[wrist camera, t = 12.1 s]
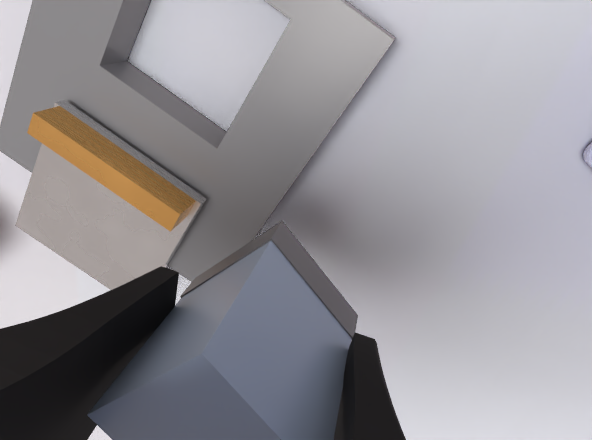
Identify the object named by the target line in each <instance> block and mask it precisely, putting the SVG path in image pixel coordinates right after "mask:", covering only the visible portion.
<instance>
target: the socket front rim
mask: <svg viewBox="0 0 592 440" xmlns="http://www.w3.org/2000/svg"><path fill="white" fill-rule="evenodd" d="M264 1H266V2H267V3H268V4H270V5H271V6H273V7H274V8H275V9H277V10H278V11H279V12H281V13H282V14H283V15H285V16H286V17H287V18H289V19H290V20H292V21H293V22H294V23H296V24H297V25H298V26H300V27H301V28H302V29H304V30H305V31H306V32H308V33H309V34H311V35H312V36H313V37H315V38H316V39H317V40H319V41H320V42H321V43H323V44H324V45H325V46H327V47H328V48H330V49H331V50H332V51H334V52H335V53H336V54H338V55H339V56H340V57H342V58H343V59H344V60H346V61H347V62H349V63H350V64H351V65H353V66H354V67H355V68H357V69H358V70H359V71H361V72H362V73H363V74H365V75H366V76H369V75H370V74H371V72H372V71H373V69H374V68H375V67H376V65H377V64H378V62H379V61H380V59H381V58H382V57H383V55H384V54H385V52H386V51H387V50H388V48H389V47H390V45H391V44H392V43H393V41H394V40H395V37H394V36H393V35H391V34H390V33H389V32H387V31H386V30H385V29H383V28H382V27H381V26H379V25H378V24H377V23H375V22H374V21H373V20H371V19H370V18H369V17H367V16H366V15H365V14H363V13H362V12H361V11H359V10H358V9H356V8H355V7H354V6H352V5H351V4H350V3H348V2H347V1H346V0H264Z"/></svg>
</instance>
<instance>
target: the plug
mask: <svg viewBox="0 0 592 440" xmlns="http://www.w3.org/2000/svg"><path fill="white" fill-rule="evenodd" d="M180 297H181V299H180V300H179V302H178V303H177V304H176V305H175V307H174V308H173V309H172V311H171V312H170V313H169V314H168V316H167V317H166V318H165V319H164V321H163V322H162V323H161V324H160V326H159V327H158V328H157V329H156V330H155V331H154V333H153V334H152V335H151V336H150V338H149V339H148V340H147V341H146V343H145V344H144V345H143V346H142V348H141V349H140V350H139V351H138V352H137V354H136V355H135V356H134V357H133V359H132V360H131V361H130V362H129V364H128V365H127V366H126V367H125V369H124V370H123V371H122V372H121V374H120V375H119V376H118V377H117V379H116V380H115V381H114V382H113V383H112V385H111V386H110V387H109V388H108V390H107V391H106V392H105V393H104V395H103V396H102V397H101V398H100V400H99V401H98V402H97V403H96V405H95V406H94V407H93V408H92V409H91V411H90V412H89V413H88V414H87V416H88V417H90V418H91V419H92V420H93V421H94V422H95V423H96V424H97V425H98V426H99V427H100V428H101V429H102V430H103V431H104V432H105V433H106V434H107V435H108V436H109V437H110V438H111V439H112V440H334V434H335V428H336V423H337V417H338V412H339V406H340V400H341V395H342V389H343V379H344V371H345V365H346V360H347V354H348V349H349V346H350V344H351V340H352V338H353V336H354V333H355V329H356V324H357V318H358V315H357V314H356V312H355V311H354V310H353V309H352V307H351V306H350V305H349V304H348V302H347V301H346V300H345V299H344V297H343V296H342V295H341V294H340V292H339V291H338V290H337V289H336V287H335V286H334V285H333V284H332V282H331V281H330V280H329V279H328V277H327V276H326V275H325V274H324V272H323V271H322V270H321V269H320V267H319V266H318V265H317V264H316V262H315V261H314V260H313V259H312V257H311V256H310V255H309V254H308V252H307V251H306V250H305V249H304V247H303V246H302V245H301V244H300V242H299V241H298V240H297V239H296V237H295V236H294V235H293V234H292V232H291V231H290V230H289V229H288V227H287V226H286V225H285V224H284V222H283V221H281V222H280V223H278V224H277V225H275V226H274V227H272V228H271V229H269V230H268V231H266V232H264V233H263V234H261V235H260V236H258V237H257V238H255V239H254V240H252V241H251V242H249V243H248V244H246V245H245V246H243V247H242V248H240V249H239V250H237V251H235V252H234V253H232V254H231V255H229V256H228V257H226V258H225V259H223V260H222V261H220V262H219V263H217V264H216V265H214V266H213V267H211V268H209V269H208V270H206V271H205V272H203V273H202V274H200V275H199V276H197V277H196V278H195V279H194V280H193V282H192V283H191V284H190V285H189V286H188V288H187V289H186V290H185V291H184V293H183V294H182V295H181V296H180Z"/></svg>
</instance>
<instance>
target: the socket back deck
mask: <svg viewBox="0 0 592 440" xmlns="http://www.w3.org/2000/svg"><path fill="white" fill-rule="evenodd" d="M63 100H66V101H67V102H69V103H70V104H71V105H73V106H74V107H76V108H77V109H79V110H80V111H81V112H83V113H84V114H86V115H87V116H89V117H90V118H91V119H93V120H94V121H96V122H97V123H99V124H100V125H101V126H103V127H104V128H106V129H107V130H109V131H110V132H111V133H113V134H114V135H116V136H117V137H119V138H120V139H122V140H123V141H124V142H126V143H127V144H129V145H130V146H132V147H133V148H134V149H136V150H137V151H139V152H140V153H142V154H143V155H144V156H146V157H147V158H149V159H150V160H152V161H153V162H154V163H156V164H157V165H159V166H160V167H162V168H163V169H164V170H166V171H167V172H169V173H170V174H172V175H173V176H175V177H176V178H177V179H179V180H180V181H182V182H183V183H185V184H186V185H187V186H189V187H190V188H192V189H193V190H195V191H196V192H197V193H199V194H200V195H202V196H203V197H205V198H206V201H205V203H204V204H203V206H202V208H201V209H200V211H199V213H198V214H197V216H196V218H195V219H194V221H193V223H192V224H191V226H190V228H189V229H188V231H187V233H186V234H185V236H184V238H183V239H182V241H181V243H180V245H179V246H178V248H177V250H176V251H175V253H174V255H173V256H172V258H171V260H170V261H169V263H168V266H169V267H171V268H172V269H174V270H175V271H177V272H179V274H181V275H182V276H184V277H185V278H187V279H188V280H190V281H191V282H193V280H194V279H195V278H196V277H197V276H199V275H200V274H202V273H203V272H205V271H206V270H208V269H209V268H211V267H213V266H214V265H216V264H217V263H219V262H220V261H222V260H223V259H225V258H226V257H228V256H229V255H231V254H232V253H234V252H235V251H237V250H239V249H240V248H242V247H243V246H245V245H246V244H248V243H249V242H251V241H252V240H253V239H254V238H255V236H256V235H257V233H258V232H259V231H260V229H261V228H262V226H263V225H264V224H265V222H266V221H267V219H268V218H269V216H270V215H271V214H272V212H273V211H274V209H275V208H276V207H277V205H278V204H279V202H280V201H281V200H282V198H283V197H284V196H283V195H282V194H280V193H279V192H278V191H276V190H275V189H273V188H272V187H271V186H269V185H268V184H266V183H265V182H263V181H262V180H261V179H259V178H258V177H256V176H255V175H254V174H252V173H251V172H249V171H248V170H246V169H245V168H244V167H242V166H241V165H239V164H238V163H237V162H235V161H234V160H232V159H231V158H230V157H228V156H227V155H225V154H224V153H222V152H221V151H220V150H218V149H217V148H218V147H219V145H220V143H221V141H222V140H223V138H224V136H225V134H226V133H227V132H226V131H224V130H223V129H221V128H220V127H219V126H217V125H216V124H214V123H213V122H212V121H210V120H209V119H207V118H206V117H205V116H203V115H202V114H200V113H199V112H198V111H196V110H195V109H193V108H192V107H191V106H189V105H188V104H186V103H185V102H184V101H182V100H181V99H179V98H178V97H176V96H175V95H174V94H172V93H171V92H169V91H168V90H167V89H165V88H164V87H162V86H161V85H160V84H158V83H157V82H155V81H154V80H153V79H151V78H150V77H148V76H147V75H146V74H144V73H143V72H141V71H140V70H139V69H137V68H136V67H134V66H133V65H131V64H130V63H129V62H127V61H125V62H118V63H112V64H106V65H100V66H99V65H98V64H97V63H95V62H94V61H92V60H91V59H90V58H88V57H87V56H85V55H84V54H83V53H81V52H80V51H78V50H77V49H75V48H74V47H73V46H71V45H70V44H68V43H67V42H66V41H64V40H63V39H61V38H60V37H58V36H57V35H56V34H54V33H53V32H51V31H50V30H49V29H47V28H46V27H44V26H43V25H42V24H40V23H39V22H37V21H36V20H34V19H33V18H32V17H30V16H29V17H28V20H27V24H26V28H25V32H24V36H23V40H22V44H21V47H20V51H19V55H18V59H17V63H16V67H15V71H14V75H13V78H12V82H11V86H10V90H9V94H8V98H7V102H6V105H5V109H4V113H3V117H2V121H1V125H0V151H1V152H2V153H4V154H5V155H7V156H8V157H10V158H11V159H13V160H14V161H15V162H17V163H18V164H20V165H21V166H23V167H24V168H26V169H27V170H29V171H30V172H33V169H34V166H35V163H36V160H37V157H38V154H39V150H40V147H41V144H42V143H41V142H39V141H38V140H37V139H35V138H34V137H32V136H31V135H29V134H28V133H27V131H28V128H29V125H30V121H31V118H32V115H33V113H34V112H38V111H42V110H46V109H50V108H53V107H54V104H55V102H59V101H63Z"/></svg>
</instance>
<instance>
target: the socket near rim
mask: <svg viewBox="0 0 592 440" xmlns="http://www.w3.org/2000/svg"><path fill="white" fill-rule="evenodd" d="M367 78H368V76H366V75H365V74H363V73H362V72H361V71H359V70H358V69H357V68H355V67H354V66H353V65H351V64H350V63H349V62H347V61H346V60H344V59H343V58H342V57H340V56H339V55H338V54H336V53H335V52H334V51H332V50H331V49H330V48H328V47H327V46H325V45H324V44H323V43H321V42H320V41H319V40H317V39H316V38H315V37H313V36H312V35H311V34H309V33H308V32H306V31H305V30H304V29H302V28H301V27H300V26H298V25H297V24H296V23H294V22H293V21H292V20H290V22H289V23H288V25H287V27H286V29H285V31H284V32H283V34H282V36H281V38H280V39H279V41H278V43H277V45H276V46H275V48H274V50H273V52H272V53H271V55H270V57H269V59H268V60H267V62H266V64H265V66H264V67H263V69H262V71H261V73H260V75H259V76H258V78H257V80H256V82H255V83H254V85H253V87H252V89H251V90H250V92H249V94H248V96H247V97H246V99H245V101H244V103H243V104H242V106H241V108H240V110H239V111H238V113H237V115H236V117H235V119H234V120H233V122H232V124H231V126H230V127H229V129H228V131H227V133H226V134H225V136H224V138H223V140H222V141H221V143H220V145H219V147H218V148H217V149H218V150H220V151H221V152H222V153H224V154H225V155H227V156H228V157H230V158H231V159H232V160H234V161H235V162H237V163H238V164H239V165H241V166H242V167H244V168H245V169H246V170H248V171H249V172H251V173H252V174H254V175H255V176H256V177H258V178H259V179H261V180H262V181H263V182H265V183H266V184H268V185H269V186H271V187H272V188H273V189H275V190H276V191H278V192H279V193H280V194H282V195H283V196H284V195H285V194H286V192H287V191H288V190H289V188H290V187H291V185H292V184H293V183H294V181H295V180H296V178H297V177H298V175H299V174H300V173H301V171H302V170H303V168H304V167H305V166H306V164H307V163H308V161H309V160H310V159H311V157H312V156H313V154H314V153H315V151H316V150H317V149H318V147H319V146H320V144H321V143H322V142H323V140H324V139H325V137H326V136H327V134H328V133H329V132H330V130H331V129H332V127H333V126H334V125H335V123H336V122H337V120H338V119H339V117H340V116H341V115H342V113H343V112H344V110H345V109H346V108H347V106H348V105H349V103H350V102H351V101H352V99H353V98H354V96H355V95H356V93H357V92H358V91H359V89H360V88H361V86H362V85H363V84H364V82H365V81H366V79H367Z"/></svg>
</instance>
